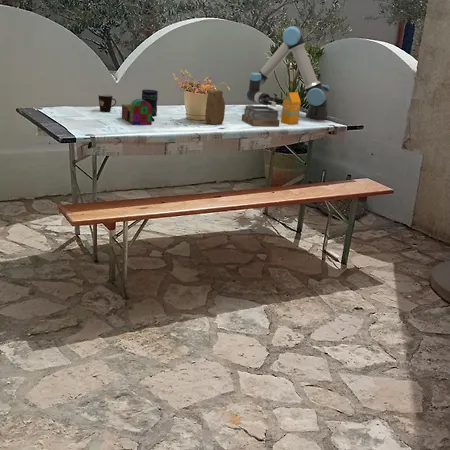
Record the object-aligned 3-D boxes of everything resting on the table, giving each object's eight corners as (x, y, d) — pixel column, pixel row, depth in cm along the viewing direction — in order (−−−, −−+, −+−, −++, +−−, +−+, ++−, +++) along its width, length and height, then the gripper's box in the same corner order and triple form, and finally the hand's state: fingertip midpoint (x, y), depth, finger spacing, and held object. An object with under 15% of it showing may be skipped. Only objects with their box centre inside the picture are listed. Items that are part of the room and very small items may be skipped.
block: (208, 124, 360) (211, 91, 353) (203, 122, 367) (206, 89, 360) (224, 124, 365) (227, 91, 358) (219, 122, 371) (222, 89, 364)
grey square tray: (241, 120, 384) (243, 105, 381) (266, 120, 391) (268, 106, 387) (252, 126, 369) (254, 110, 365) (278, 126, 375) (280, 111, 372)
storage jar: (137, 114, 371) (138, 90, 366) (148, 112, 379) (149, 89, 374) (149, 117, 366) (150, 92, 361) (160, 115, 374) (161, 91, 368)
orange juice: (298, 123, 390) (302, 92, 383) (289, 124, 384) (293, 93, 377) (289, 121, 395) (293, 90, 388) (280, 122, 389) (284, 91, 382)
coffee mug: (95, 110, 372) (95, 94, 368) (108, 109, 377) (108, 93, 373) (104, 113, 363) (104, 97, 360) (116, 113, 368) (117, 97, 365)
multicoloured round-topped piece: (160, 125, 348) (161, 100, 343) (132, 125, 340) (133, 100, 335) (145, 116, 368) (146, 93, 363) (118, 116, 360) (119, 92, 355)
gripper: (275, 103, 415) (296, 109, 400) (247, 104, 401) (268, 110, 385) (276, 92, 413) (297, 98, 397) (248, 93, 398) (269, 98, 382)
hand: (283, 104), depth 391 cm, fingers open, 13 cm apart
